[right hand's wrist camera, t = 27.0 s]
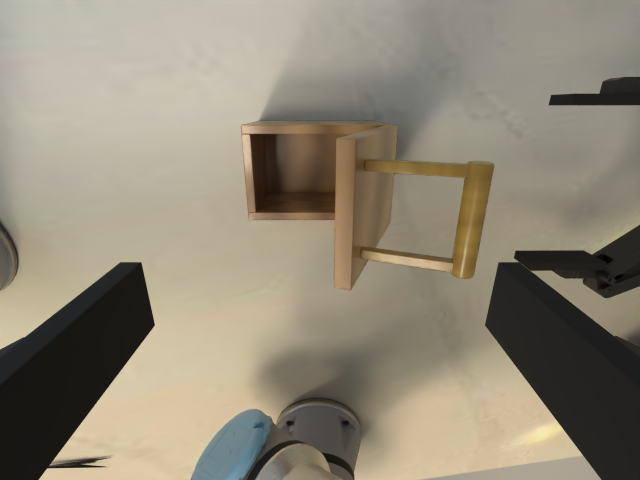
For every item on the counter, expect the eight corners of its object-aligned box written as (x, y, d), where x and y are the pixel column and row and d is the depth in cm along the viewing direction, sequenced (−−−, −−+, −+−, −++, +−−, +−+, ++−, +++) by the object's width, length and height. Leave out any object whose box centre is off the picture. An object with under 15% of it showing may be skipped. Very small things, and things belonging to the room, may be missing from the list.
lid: (333, 287, 23) (471, 313, 20) (336, 138, 19) (504, 143, 16) (378, 221, 36) (466, 231, 33) (385, 125, 32) (483, 127, 30)
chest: (263, 197, 46) (248, 220, 36) (258, 120, 42) (240, 124, 33) (370, 196, 46) (383, 220, 36) (374, 120, 42) (390, 125, 33)
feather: (-18, 463, 66) (-30, 468, 64) (116, 455, 64) (109, 460, 62) (-19, 473, 66) (-30, 478, 64) (116, 465, 64) (109, 470, 62)
